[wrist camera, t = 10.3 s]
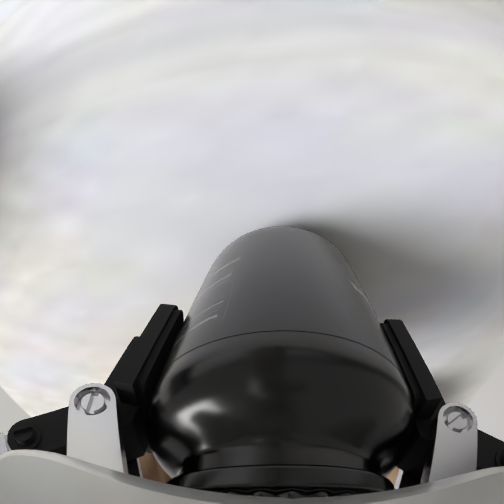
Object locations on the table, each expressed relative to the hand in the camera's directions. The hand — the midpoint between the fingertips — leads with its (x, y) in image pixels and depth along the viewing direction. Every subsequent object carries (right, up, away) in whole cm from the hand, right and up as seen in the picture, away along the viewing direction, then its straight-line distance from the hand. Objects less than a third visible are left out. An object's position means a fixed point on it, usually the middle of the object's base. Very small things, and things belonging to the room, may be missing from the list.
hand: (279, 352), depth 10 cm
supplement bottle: (0, +2, +4) cm, 4 cm away
